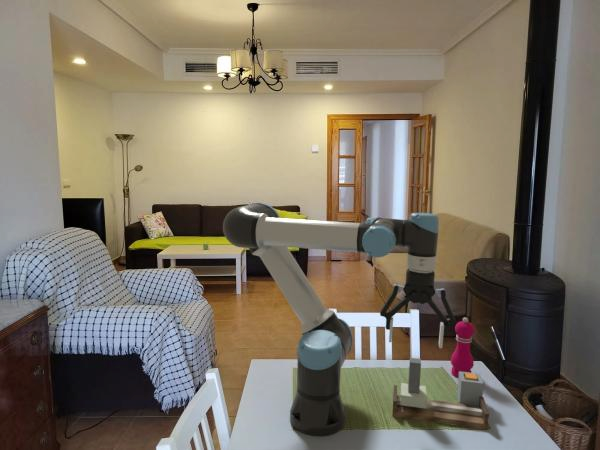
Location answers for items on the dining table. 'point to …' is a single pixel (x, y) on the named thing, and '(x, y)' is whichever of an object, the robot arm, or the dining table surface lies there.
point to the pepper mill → (462, 348)
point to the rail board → (445, 412)
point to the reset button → (470, 376)
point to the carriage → (413, 387)
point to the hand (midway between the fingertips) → (415, 343)
